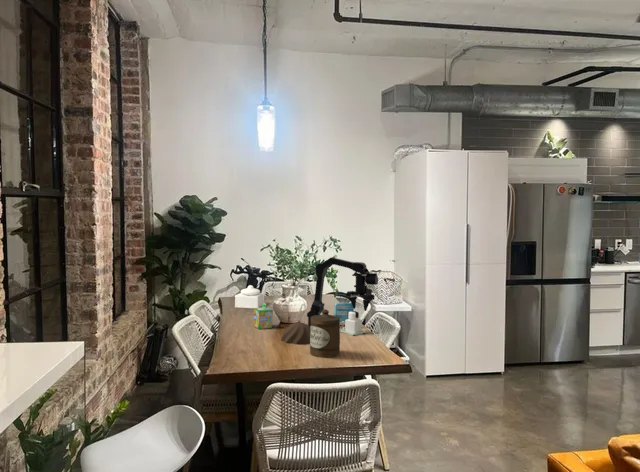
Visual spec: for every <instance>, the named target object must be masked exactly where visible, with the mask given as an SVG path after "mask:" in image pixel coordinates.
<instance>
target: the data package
mask: <svg viewBox="0 0 640 472" xmlns="http://www.w3.org/2000/svg"><path fill="white" fill-rule="evenodd" d="M333 310H334V311H333V314H334V316H338V317H339V318H340V322H342V321H345V320H347V319H349V318H348V316H349V312H350V311H354V310H355V309H354V308H353V306H352V304H351V302H335V303H334V309H333Z"/></svg>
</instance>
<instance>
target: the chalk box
mask: <svg viewBox="0 0 640 472" xmlns="http://www.w3.org/2000/svg"><path fill="white" fill-rule="evenodd" d="M273 313H274V310H273V309H272V308H271V307H267V303H266V302H264V303H263V306H261V307H259V308H253V327H254V328H256V329H258V330H263V329H264V330H265V329H273Z"/></svg>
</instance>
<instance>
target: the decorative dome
mask: <svg viewBox="0 0 640 472" xmlns="http://www.w3.org/2000/svg"><path fill="white" fill-rule="evenodd" d="M310 333H311V327H310V326H309V325H308V323H305V322H300V321H298V322H294V323H292V324H291V325H289V326H288V327H286V328H285V329H284V330H283V332H282V335H281V336H282V337H281V338H280V341H281V342H284V344H293V345H308V344H309V345H310Z"/></svg>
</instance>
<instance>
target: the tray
mask: <svg viewBox="0 0 640 472" xmlns="http://www.w3.org/2000/svg"><path fill="white" fill-rule="evenodd" d="M344 333H345V335H348V334H349V335H348V336H352V335H355V336H359V335H358V334H360V335H364V334H363V333H365V334H367V331H366V330H363V329H361V332H358V333H350V332H346V331H345V330H343V329H340V334H344Z"/></svg>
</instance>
